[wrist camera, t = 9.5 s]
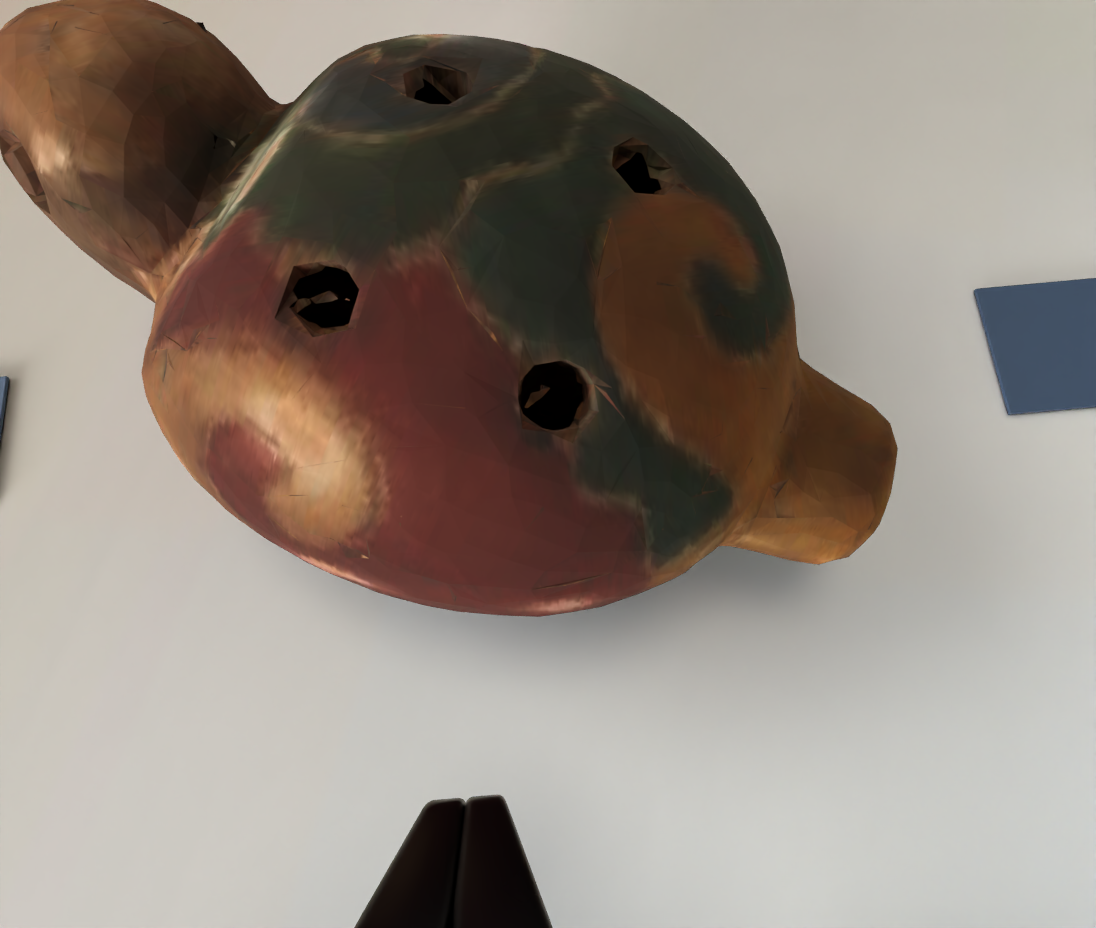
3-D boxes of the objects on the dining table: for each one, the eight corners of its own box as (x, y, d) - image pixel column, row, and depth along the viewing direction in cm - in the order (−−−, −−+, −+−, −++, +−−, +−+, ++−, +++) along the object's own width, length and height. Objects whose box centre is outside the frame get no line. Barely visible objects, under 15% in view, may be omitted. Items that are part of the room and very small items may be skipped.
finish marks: (1383, 381, 16) (1388, 379, 16) (-372, 536, 17) (-378, 535, 17) (1329, 259, 17) (1333, 256, 17) (-336, 408, 17) (-341, 407, 17)
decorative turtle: (254, 148, 19) (84, -233, 11) (844, 330, 18) (1084, 49, 11) (51, 502, 16) (-363, 303, 8) (751, 743, 15) (996, 764, 7)
